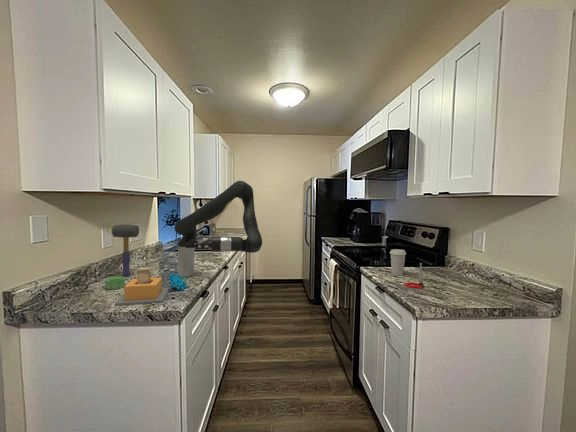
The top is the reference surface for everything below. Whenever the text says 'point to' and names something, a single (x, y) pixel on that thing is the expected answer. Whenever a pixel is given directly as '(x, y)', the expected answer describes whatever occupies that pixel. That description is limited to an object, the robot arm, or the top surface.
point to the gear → (177, 281)
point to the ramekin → (114, 282)
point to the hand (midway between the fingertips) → (187, 244)
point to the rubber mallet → (125, 243)
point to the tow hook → (416, 283)
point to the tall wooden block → (144, 276)
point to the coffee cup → (397, 261)
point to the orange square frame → (143, 293)
